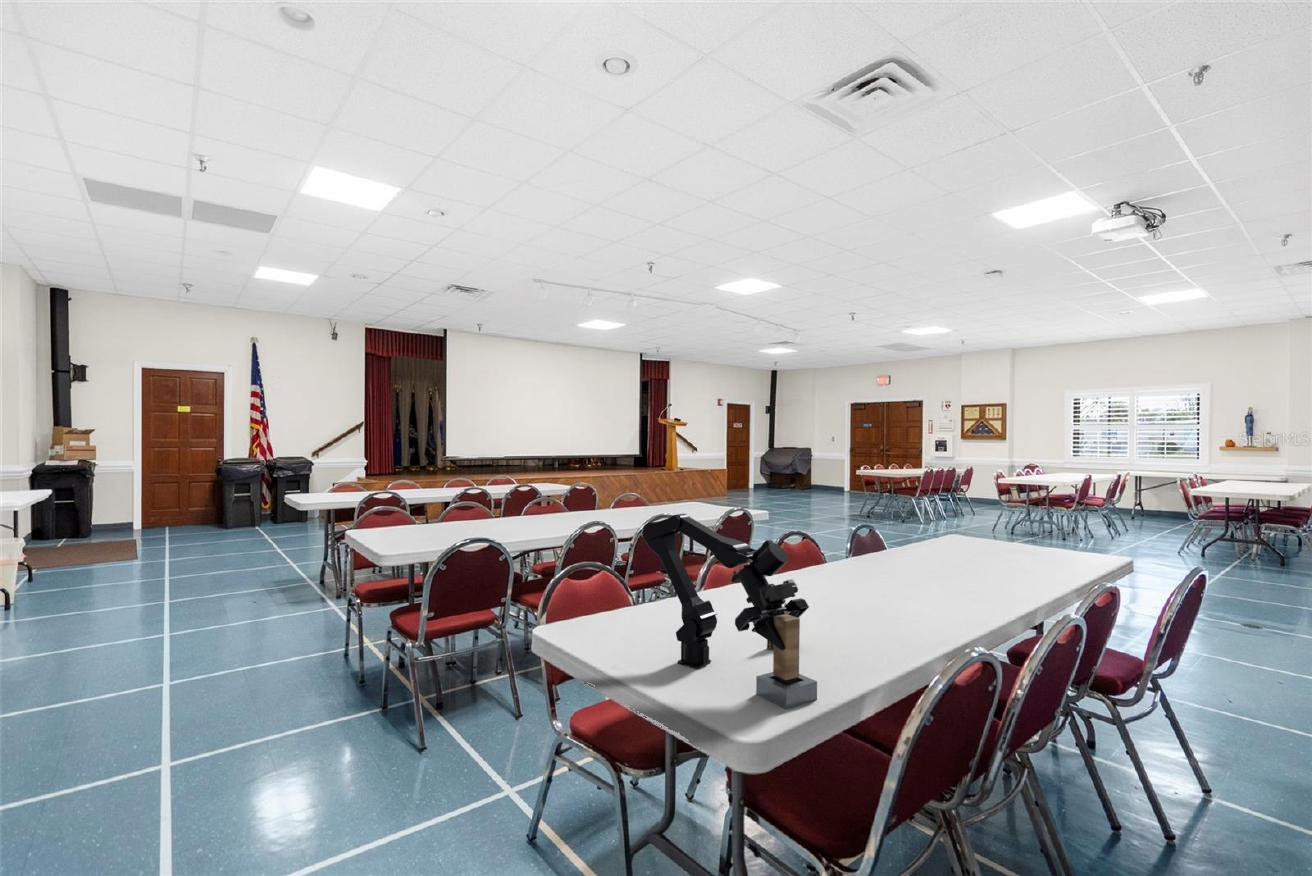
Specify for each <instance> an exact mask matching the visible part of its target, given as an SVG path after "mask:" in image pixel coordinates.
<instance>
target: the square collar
mask: <svg viewBox="0 0 1312 876" xmlns="http://www.w3.org/2000/svg"><path fill="white" fill-rule="evenodd" d="M755 681H756V683H755V687H756V688H755V689H756V691H755V693H756V695H758V696H759V697H761V698H764V699H765V700H767V701H769V702H772V703H773V704H775V705H777V706H779V707H781V708H784V709H786V710H787V709H791V708H794V707H798V706H801V705H804V704H808V703H811V702H813V700H814V701H817V700H818V681H817V680H815V679H813V678H810V677H807V676H806V675H804V674H801V673H799V677H797V678H793V679H789V680H784V679H782V678H780V677H778V676H775V675H773V671H772V672H771V671H770V672H767V673H763V674H759V675H756V679H755ZM807 702H808V703H807Z"/></svg>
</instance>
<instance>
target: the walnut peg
mask: <svg viewBox="0 0 1312 876" xmlns="http://www.w3.org/2000/svg"><path fill="white" fill-rule="evenodd" d="M800 620H801V619H800V617H799V618H797V617H794V616H791V615H788V614H785V615H779V616H774V625H775V627H776V629H777V631H778V633H779V635H780V637H781V639H782V641H783V643H784V646H785V649H784V650H780V649H779V648H778V647H776V646H775V645H774V647H773V650H772V651H773V656H772V657H773V660H772V661H773V662H772V666H773V668H772V669H773V670H772V672H773V675H775V676H778V677H780V678H782V679H784V680H789V679H793V678H797V677H799V674H800V629H801V627H800V626H801V623H800Z"/></svg>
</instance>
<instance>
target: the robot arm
mask: <svg viewBox="0 0 1312 876" xmlns="http://www.w3.org/2000/svg"><path fill="white" fill-rule="evenodd" d="M641 533H642V538H643V539H644V541H645V543H646V545H647V546H648V548H649V549H650V550H651V551H652V552H654V553H655V554H656V555H657V556H658V557H659V559H660V561H661V563H662V565H663V567H664V569H665V571H666V575H667V576H668V579H669V580H670V583H671V585H672V587H673V590H674V591H675V593H676V594H675V595H677V598H678V600H679V602H680V604H681V620H682V623H683V624H682V626H680V628H678V630H676V631H675V635H676V636H675V637H676V640H677V642H680V659H679V660H677V661H676V662H677V664H679V665H683V666H686V667H691V668H694V669H700V668H702V667H704V666H706V665H708V664H710V663H711V662H712V660H711V659H710V646H709V644H708V643H709V639H708V638H711V637H712V636H713V631H715V630H716V628H717V624H718V619H717V615H718V614H717V612H716V611H715V610H714V608H713V604H712V602H711V601H710V600H705V601H704V600H703V599H701V597H700V596H699V594H698V593H697V590H696V588H695V586H694V583H693V582H692V580H691V578H690V575H689V573H688V571H687V570H686V569H687V568H686V567H685V564H684V563H683V560H682V558H681V557H680V554H679V552H678V550H677V547H676V546H677V536H676V534H679V533H682V534H683V535H685V536H686V537H688V538H689V539H691V540H693V541H694V542H696V543H698V544H700V545H701V546H702V547H705V549H707V550H709V551H710V552H711V553H712V554H713V556H714V558H715V559H716V560H717V561H718V562H719V563H720V564H721V565H723V567H725V568H727V569H734V568H738V567H740V568H739V570H733V572H732V573H733V574H732V576H731V579H730V581H731V583H741V585H742V587H743V589H744V591H745V593H746V594H747V597H746V599H745V601H746V602H747V604H752V606H750V607H744V608H743V609H742V610H741V612H740V613H739V614H738V615H737V616H736V617H735V619H734V625H735V627H736V630H737V631H738V632H744V631H748V630H749V629H750V623H752V625H753V628H752V629H751V632H752V633H756V634H758V635H759V636H761V637H762V638H764V639H766V641H767V640H768V641H770V642H771V643H772V644H774V645H775V646H776V647H778V648H779V649H780V650H784V649H785V646H784V643H783V641H782V639H781V637H780V635H779V633H778V631H777V629H776V627H775V625H774V616H779V615H785V614H788V615H791V616H794V617H797V618H800V617H801V616H802V615H803V614H804V613H805V612H806V611H807V610H808V609H809V608H810V606H809V605H808V602H807V601H806V599H804V598H796V599H790V600H789V601H788V602H786V601H787V599H789V598H794V597H796V593H798V592H799V591H798V590H799V588H798V584H797V583H796V582H795V580H794V579H793V578H791V579H787V580H783V581H782V583H780V584H776V585H775V584H774V583H769V581H768V579H767V578H766V577H772V576H774V575H775V574H776V573H777V572H778V571H779V570H780V569H782V567H783V566H784V565H786V564H787V563H788V562H789V561H790V559H789V555H788V553H787V551H786V549H785V548H783V547H781V546H780V545H779V544H777V543H775V542H774V541H773V540H772V539H767V540H765V541H764V542H763V543H762V545H761V546H760V547H759V548H758V549H755V548H752V547H750V546H749V544H747V542H744V541H741V540H738V539H736V538H731V537H727V536H723V535H721V534H719V533H717V532H716V531H714V530H712V528H709V527H707V526H706V525H704V524H703V523H700V522H699V521H697V520H695V519H694V518H693V517H691V516H690V515H689V514H687V513H680V514H679V513H678V514H673V515H672V516H670V517H668V518H665V519H663V520H659V521H649V522H647V523H645V524H644V527H643V530H642V532H641ZM785 603H786V606H785V607H784V606H783V605H785ZM781 605H782V606H783V607H781Z"/></svg>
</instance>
